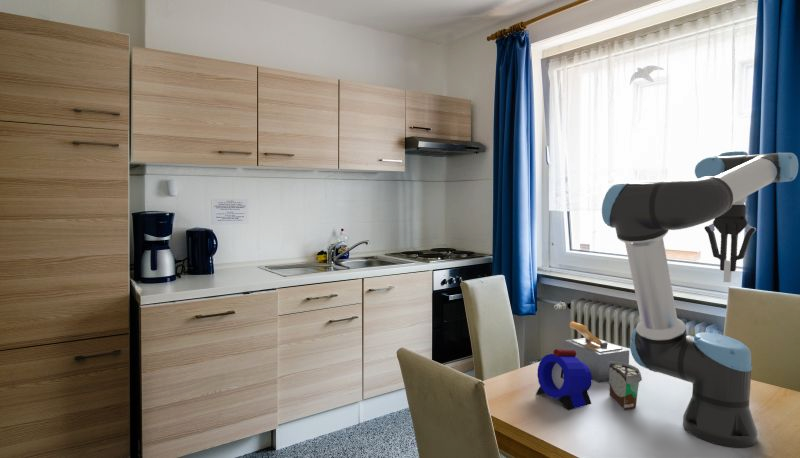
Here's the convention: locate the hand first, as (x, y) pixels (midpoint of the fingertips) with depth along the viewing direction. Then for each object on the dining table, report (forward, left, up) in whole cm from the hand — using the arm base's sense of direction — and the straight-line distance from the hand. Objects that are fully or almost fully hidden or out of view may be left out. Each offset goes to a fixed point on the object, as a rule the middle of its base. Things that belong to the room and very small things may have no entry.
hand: (727, 281), depth 143 cm
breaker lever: (-15, +33, -22) cm, 43 cm away
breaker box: (-15, +33, -32) cm, 49 cm away
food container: (-33, +17, -33) cm, 49 cm away
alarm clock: (-42, +31, -33) cm, 62 cm away
